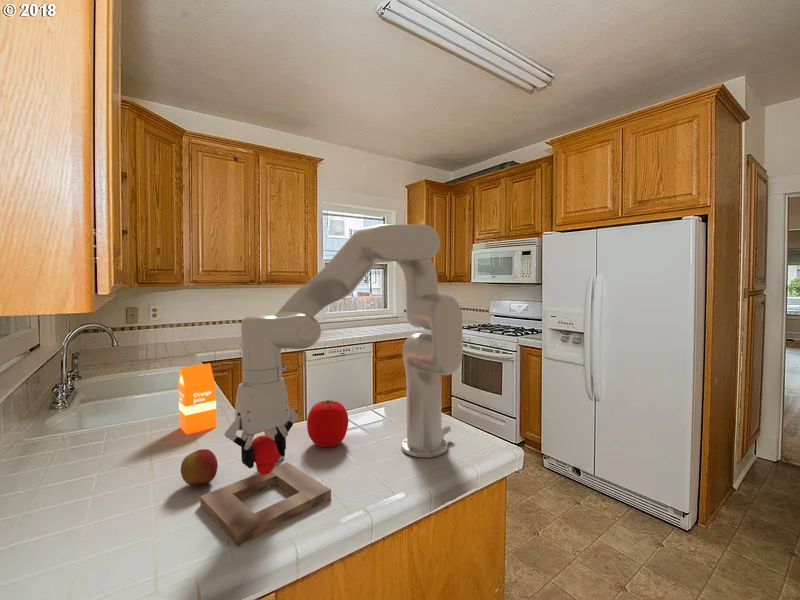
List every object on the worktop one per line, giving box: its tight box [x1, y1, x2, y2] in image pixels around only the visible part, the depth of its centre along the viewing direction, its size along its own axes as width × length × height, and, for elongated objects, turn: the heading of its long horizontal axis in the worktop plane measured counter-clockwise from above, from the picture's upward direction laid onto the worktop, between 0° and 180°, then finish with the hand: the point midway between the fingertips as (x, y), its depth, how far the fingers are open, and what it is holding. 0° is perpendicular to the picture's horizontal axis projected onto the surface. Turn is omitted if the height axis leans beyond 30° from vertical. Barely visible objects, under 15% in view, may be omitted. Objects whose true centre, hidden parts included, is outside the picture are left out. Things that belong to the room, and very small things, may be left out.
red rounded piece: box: [251, 434, 281, 475], centre depth 80 cm, size 8×6×6 cm
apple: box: [180, 448, 219, 486], centre depth 88 cm, size 8×8×8 cm
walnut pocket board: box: [199, 461, 332, 547], centre depth 81 cm, size 20×18×2 cm
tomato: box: [306, 399, 349, 448], centre depth 109 cm, size 12×12×13 cm
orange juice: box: [177, 363, 218, 435], centre depth 122 cm, size 8×9×20 cm
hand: (264, 459), depth 80 cm, fingers closed on red rounded piece, 6 cm apart
